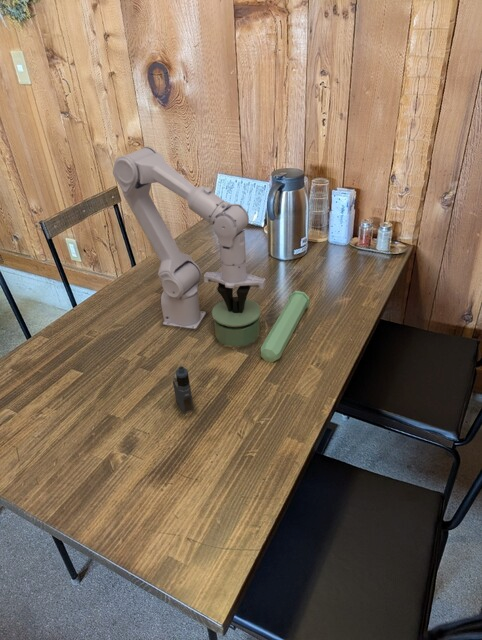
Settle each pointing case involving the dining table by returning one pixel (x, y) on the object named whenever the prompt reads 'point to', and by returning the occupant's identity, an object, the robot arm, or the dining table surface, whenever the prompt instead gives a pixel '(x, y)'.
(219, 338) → the pan
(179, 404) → the vaping device
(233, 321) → the lid
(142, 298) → the dining table surface
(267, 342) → the green octagonal rod
